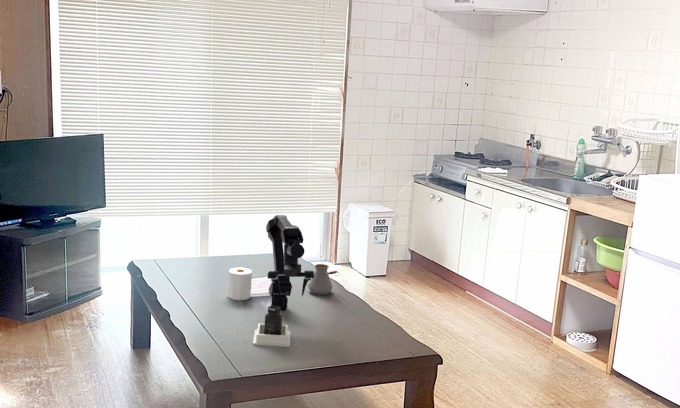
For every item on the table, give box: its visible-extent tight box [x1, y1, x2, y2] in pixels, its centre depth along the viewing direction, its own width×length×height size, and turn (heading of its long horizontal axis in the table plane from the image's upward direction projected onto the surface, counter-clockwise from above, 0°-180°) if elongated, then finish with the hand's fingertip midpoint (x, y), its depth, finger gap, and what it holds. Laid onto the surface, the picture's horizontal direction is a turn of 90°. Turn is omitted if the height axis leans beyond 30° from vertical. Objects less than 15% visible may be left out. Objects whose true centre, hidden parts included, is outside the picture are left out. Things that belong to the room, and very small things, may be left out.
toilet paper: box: [227, 267, 253, 301], centre depth 326 cm, size 10×10×12 cm
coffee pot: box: [307, 263, 340, 296], centre depth 336 cm, size 21×12×15 cm, turn 27°
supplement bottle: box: [263, 305, 283, 335], centre depth 282 cm, size 7×7×12 cm
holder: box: [252, 323, 291, 348], centre depth 283 cm, size 14×14×4 cm
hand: (291, 295), depth 297 cm, fingers open, 9 cm apart
